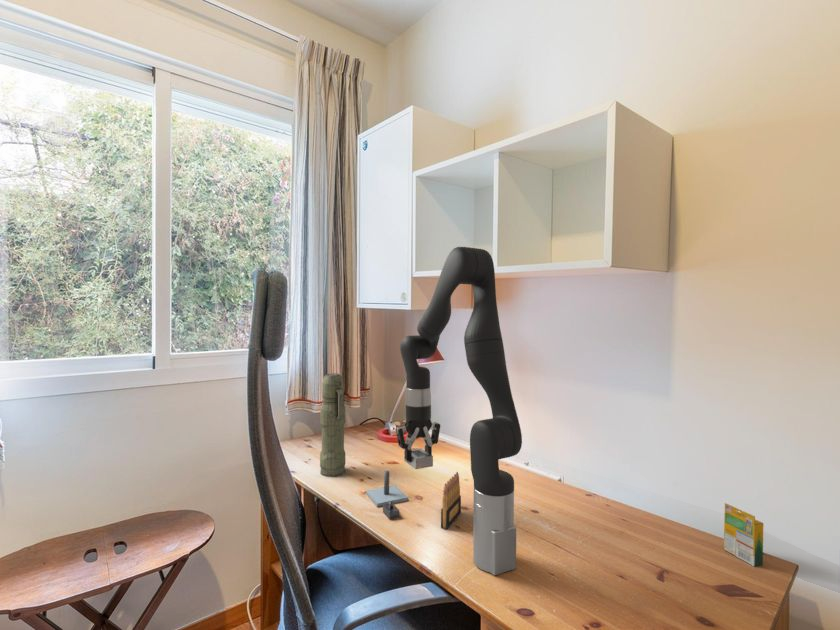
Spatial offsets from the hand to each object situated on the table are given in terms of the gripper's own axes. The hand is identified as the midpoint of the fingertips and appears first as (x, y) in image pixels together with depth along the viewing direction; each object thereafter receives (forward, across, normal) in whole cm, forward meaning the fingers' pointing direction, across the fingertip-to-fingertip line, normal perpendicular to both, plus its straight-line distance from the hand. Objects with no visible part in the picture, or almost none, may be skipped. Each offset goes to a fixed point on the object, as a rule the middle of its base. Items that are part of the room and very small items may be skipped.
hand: (418, 459), depth 125 cm
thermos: (+14, -16, +38) cm, 43 cm away
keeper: (+14, -6, +10) cm, 18 cm away
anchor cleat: (+14, -9, 0) cm, 17 cm away
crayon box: (+15, +59, -56) cm, 82 cm away
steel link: (+1, 0, 0) cm, 1 cm away
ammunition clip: (+14, +5, -11) cm, 19 cm away
